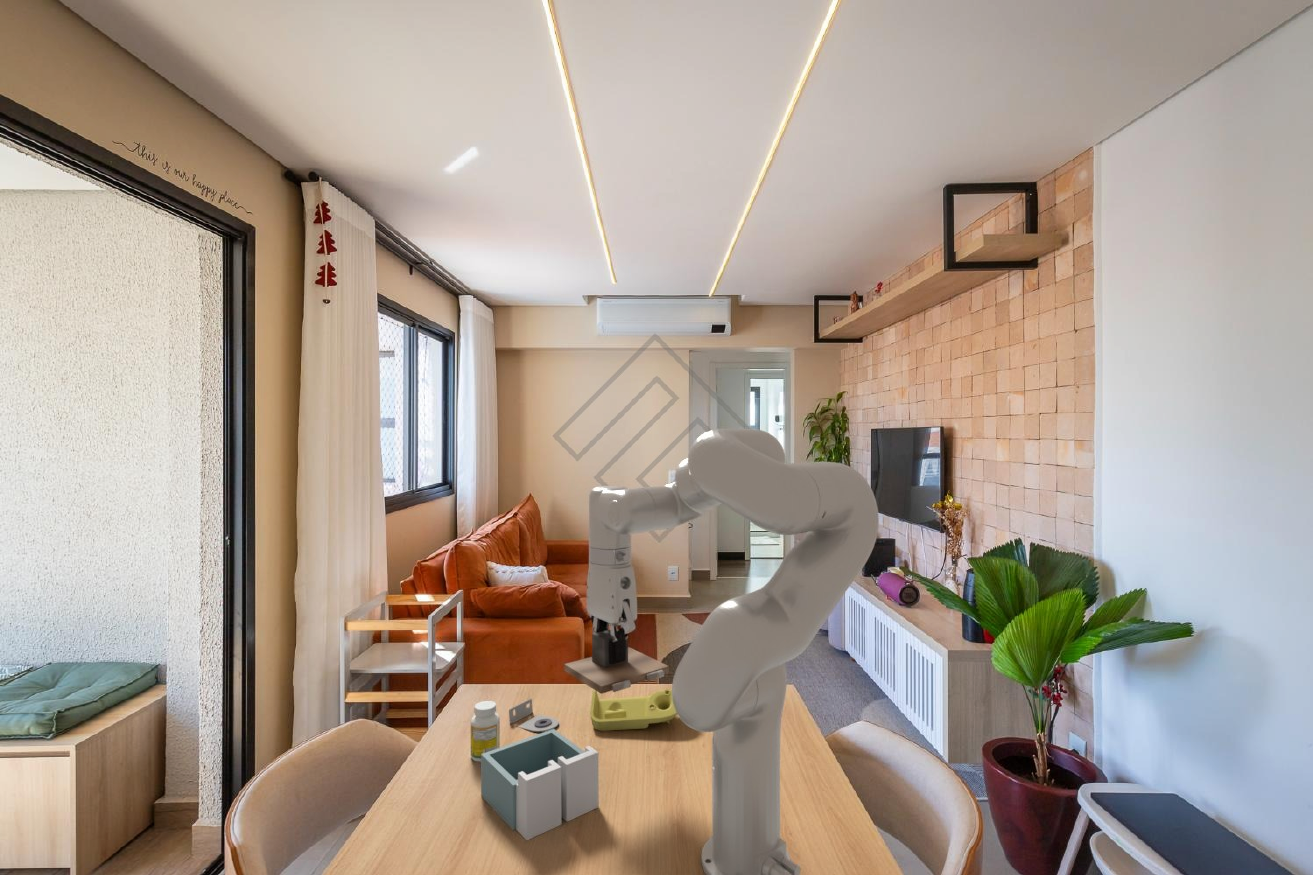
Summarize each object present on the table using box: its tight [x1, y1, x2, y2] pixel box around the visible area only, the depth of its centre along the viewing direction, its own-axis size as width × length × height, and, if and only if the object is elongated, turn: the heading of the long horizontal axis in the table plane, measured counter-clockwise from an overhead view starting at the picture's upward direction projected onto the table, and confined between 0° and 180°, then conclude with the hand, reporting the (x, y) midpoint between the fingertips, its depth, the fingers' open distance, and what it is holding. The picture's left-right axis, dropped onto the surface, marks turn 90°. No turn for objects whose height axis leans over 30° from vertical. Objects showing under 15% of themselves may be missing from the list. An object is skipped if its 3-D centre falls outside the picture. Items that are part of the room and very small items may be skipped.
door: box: [563, 628, 670, 695], centre depth 107 cm, size 13×14×6 cm
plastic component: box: [589, 688, 678, 732], centre depth 131 cm, size 20×7×10 cm
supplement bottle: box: [470, 700, 501, 763], centre depth 116 cm, size 5×5×10 cm
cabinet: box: [480, 728, 600, 841], centre depth 102 cm, size 15×14×9 cm
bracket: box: [508, 698, 560, 733], centre depth 129 cm, size 7×10×4 cm, turn 57°
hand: (609, 657), depth 109 cm, fingers closed on door, 4 cm apart
